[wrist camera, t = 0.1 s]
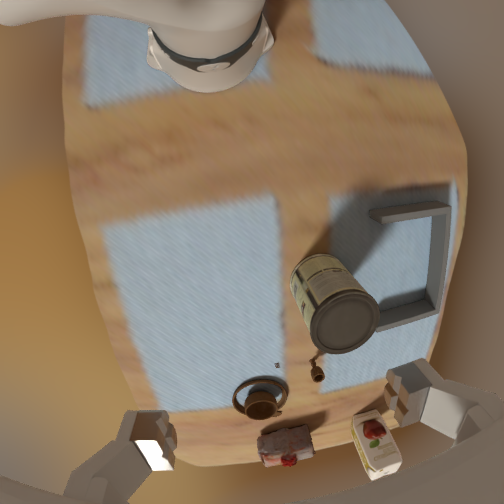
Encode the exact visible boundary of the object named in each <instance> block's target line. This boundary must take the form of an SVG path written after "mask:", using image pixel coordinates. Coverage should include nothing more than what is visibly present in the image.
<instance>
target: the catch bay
mask: <svg viewBox="0 0 504 504" xmlns="http://www.w3.org/2000/svg"><path fill="white" fill-rule="evenodd" d="M369 211H370V217H371V218H372V219H374V220H376V221H377V222H379V223H381V224H387V223H393V222H399V221H405V220H411V219H417V218H423V217H429V216H432V228H431V244H430V256H429V267H428V276H427V284H426V292H425V299H424V300H420V301H417V302H414V303H410V304H407V305H403V306H400V307H396V308H393V309H389V310H385V311H382V312H380V319H379V323H378V326H377V328H376V330H375V331H376V332H381V331H384V330H388V329H391V328H394V327H398V326H401V325H404V324H407V323H411V322H414V321H417V320H420V319H423V318H426V317H429V316H432V315H435V314H438V313H439V311H440V305H441V300H442V294H443V288H444V281H445V274H446V266H447V258H448V249H449V238H450V224H451V206H449V205H447V204H444V203H442V202H439V201H430V202H423V203H416V204H408V205H401V206H394V207H387V208H380V209H373V210H369Z"/></svg>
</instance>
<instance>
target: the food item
mask: <svg viewBox="0 0 504 504" xmlns="http://www.w3.org/2000/svg"><path fill="white" fill-rule="evenodd" d="M311 440H312V437H311V435H310V431H309V429H308V426H307V424H306V425H303V426H300V427H296V428H292V429H287V428H282V429H280V430H277V432H272V433H270V434H267V435H262V436H261V437H258V439H257V448H258V455H259V457H260V460H261V461H262V462H263V464H264V465H265V466H266V467H269V466H274V465H279V464H282V465H283V466H290V467H291V466H292V465H295V464H296V461H297V460H301V459H306V458H310V457H312V456H314V454H315V453H314V452H315V451H314V448H313V444H312V441H311Z"/></svg>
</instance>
